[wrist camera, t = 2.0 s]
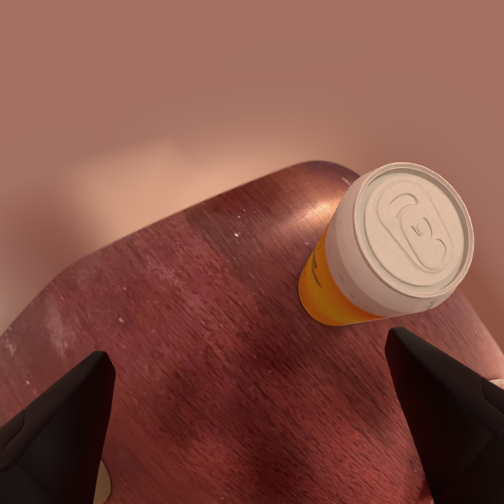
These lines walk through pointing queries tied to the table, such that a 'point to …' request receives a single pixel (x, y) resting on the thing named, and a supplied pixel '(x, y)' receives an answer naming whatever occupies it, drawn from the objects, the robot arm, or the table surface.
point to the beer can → (389, 248)
